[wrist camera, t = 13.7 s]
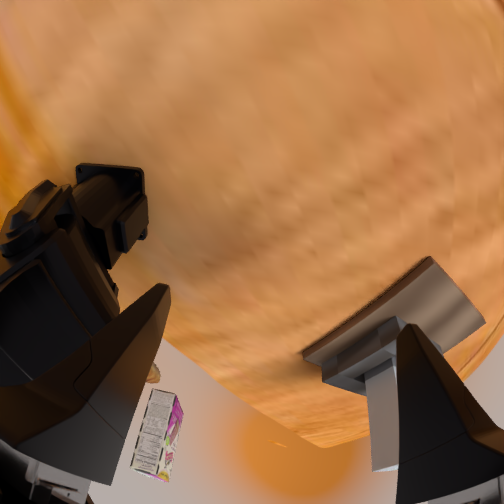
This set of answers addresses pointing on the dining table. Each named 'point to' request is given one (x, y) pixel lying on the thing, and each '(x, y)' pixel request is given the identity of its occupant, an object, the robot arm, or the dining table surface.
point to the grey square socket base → (396, 326)
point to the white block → (383, 415)
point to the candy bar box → (158, 436)
